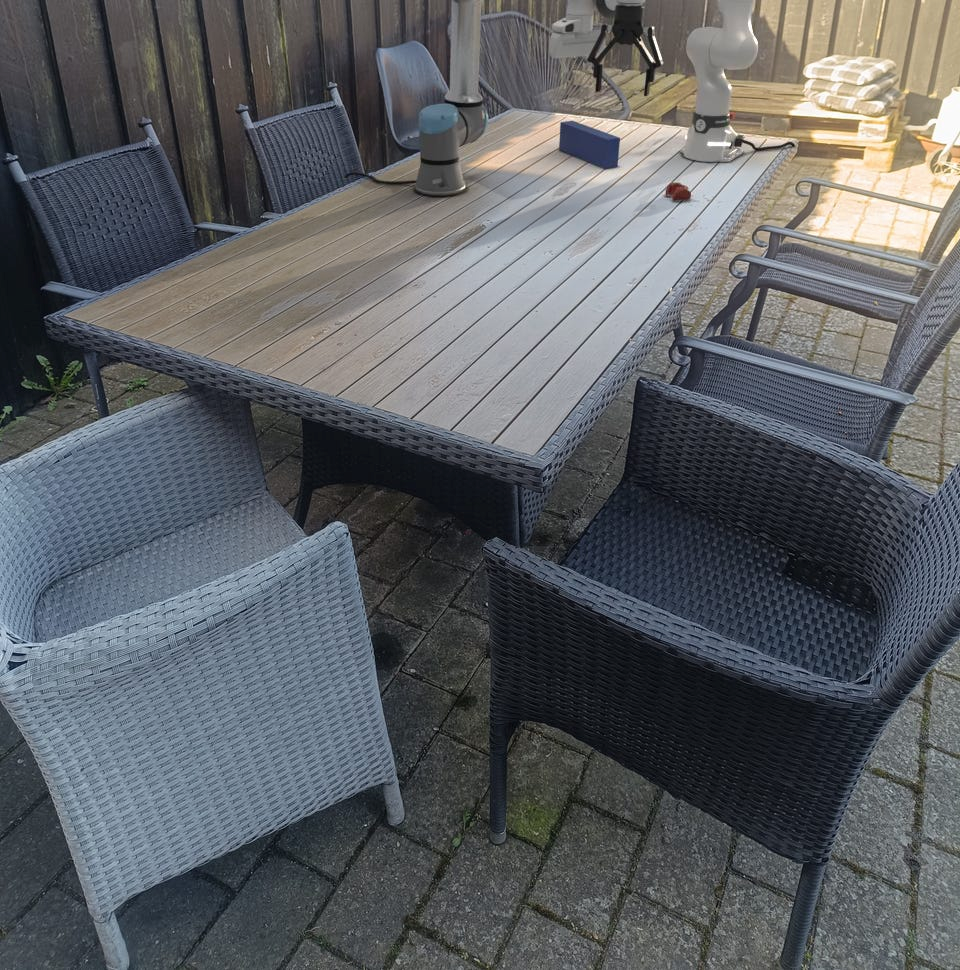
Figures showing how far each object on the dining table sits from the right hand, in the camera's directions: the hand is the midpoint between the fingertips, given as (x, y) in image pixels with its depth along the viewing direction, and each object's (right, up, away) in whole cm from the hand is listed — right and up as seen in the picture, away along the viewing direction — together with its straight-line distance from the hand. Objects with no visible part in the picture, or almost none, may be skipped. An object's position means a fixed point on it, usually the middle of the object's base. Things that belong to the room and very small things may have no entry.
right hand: (576, 71), depth 280 cm
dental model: (+27, -52, -28) cm, 65 cm away
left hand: (+7, -31, -50) cm, 59 cm away
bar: (+5, -26, +8) cm, 27 cm away
